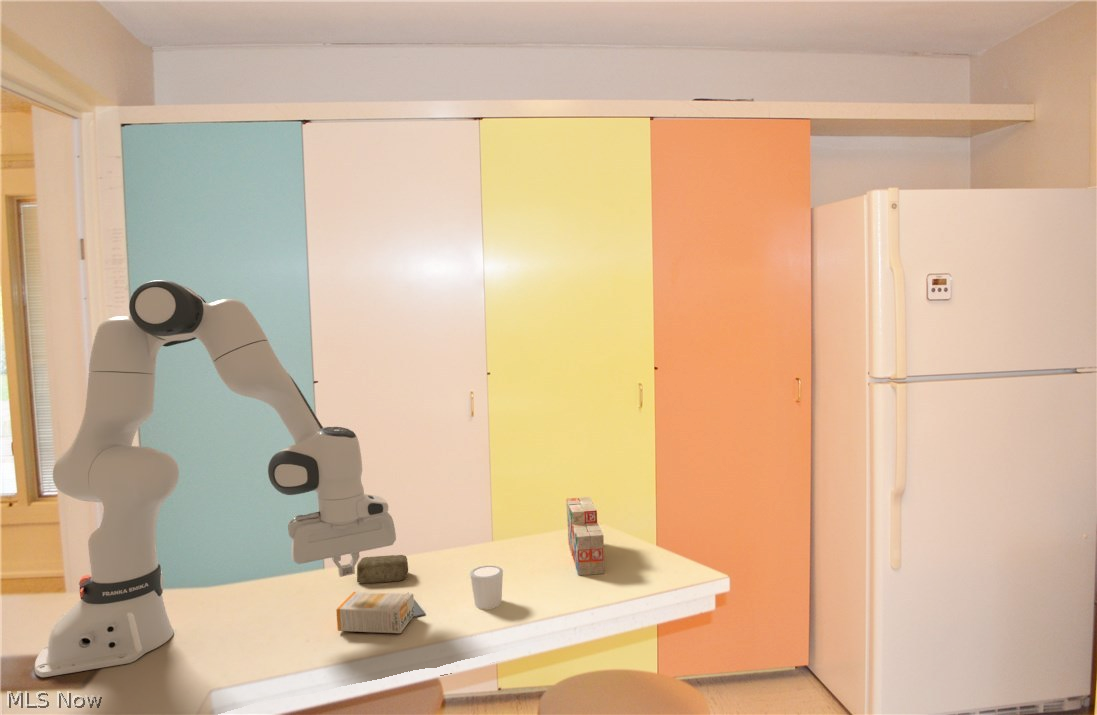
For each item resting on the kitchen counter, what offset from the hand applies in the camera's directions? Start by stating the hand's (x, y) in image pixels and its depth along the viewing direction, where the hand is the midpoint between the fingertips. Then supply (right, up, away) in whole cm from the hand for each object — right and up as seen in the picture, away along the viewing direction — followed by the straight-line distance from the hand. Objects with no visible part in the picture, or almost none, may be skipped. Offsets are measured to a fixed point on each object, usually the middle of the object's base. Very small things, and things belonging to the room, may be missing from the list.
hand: (346, 574), depth 141 cm
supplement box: (0, -7, -1) cm, 7 cm away
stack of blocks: (+50, -5, +29) cm, 58 cm away
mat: (+7, -9, +4) cm, 12 cm away
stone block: (+2, -8, +22) cm, 24 cm away
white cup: (+28, -8, +6) cm, 30 cm away
